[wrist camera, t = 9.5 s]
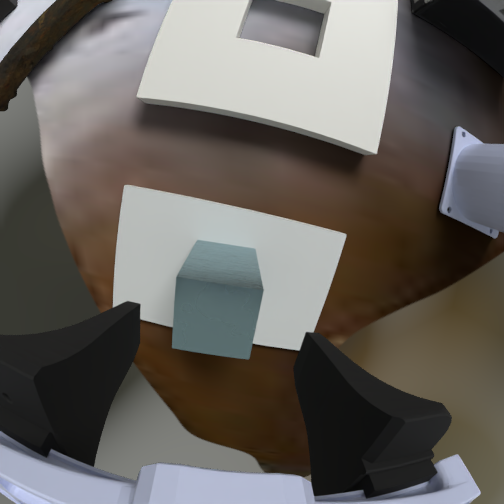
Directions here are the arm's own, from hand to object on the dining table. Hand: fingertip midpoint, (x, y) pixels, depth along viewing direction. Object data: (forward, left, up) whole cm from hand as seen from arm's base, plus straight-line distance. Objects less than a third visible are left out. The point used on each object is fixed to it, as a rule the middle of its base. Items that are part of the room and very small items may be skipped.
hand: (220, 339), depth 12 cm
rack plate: (0, -18, -9) cm, 21 cm away
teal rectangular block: (0, 0, -9) cm, 9 cm away
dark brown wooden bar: (+19, -18, -10) cm, 28 cm away
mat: (0, +1, -9) cm, 9 cm away
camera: (-17, -30, -10) cm, 36 cm away
